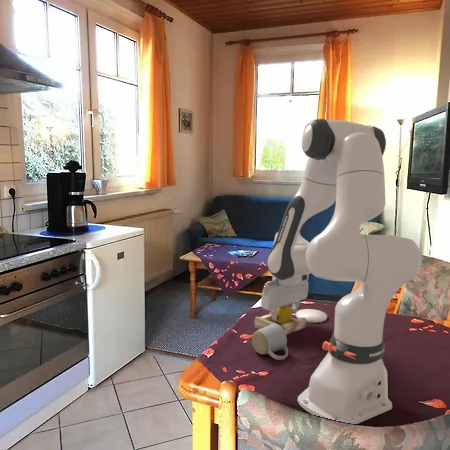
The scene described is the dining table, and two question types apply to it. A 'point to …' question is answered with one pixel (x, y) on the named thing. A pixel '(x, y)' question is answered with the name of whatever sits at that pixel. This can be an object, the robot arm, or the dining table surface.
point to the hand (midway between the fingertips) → (284, 316)
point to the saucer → (312, 315)
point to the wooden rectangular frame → (288, 327)
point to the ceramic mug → (270, 341)
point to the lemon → (284, 314)
